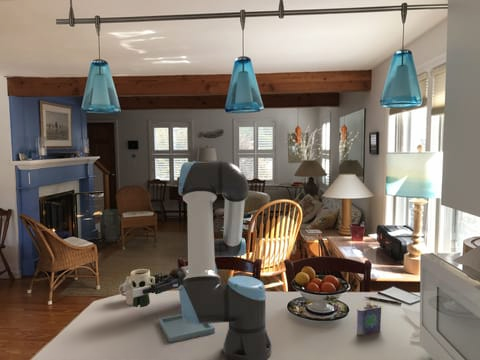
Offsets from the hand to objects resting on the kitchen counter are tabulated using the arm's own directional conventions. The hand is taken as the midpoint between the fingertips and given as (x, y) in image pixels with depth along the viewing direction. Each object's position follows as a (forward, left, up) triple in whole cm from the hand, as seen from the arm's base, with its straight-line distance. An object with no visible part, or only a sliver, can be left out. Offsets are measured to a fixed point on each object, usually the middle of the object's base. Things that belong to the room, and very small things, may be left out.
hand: (128, 290), depth 144 cm
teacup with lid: (+20, -4, -13) cm, 24 cm away
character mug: (+1, -5, -7) cm, 9 cm away
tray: (-13, -17, -12) cm, 25 cm away
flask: (-44, -73, -13) cm, 87 cm away
